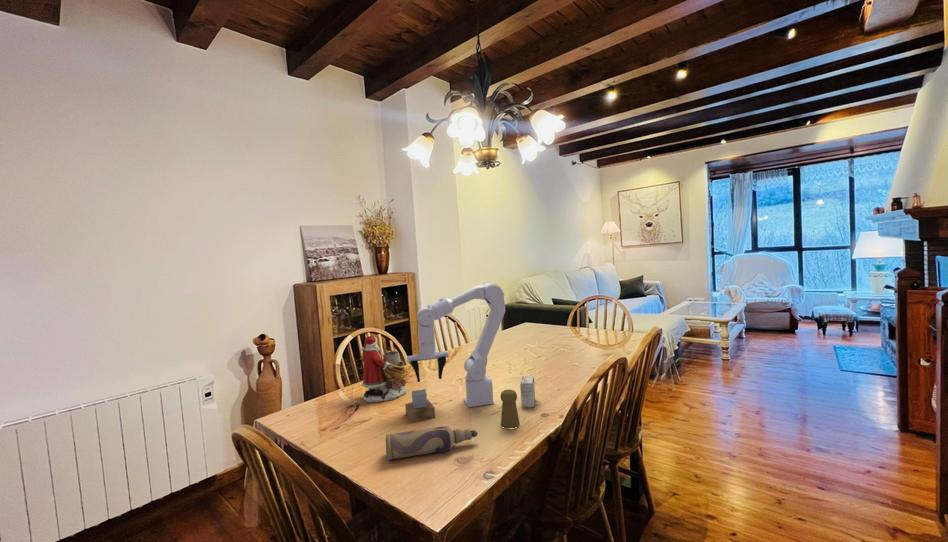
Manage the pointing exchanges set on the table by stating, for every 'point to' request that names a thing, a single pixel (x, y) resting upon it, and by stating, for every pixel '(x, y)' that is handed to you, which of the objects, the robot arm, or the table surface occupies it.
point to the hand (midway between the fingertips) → (429, 379)
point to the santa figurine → (381, 373)
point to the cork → (509, 409)
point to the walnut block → (420, 412)
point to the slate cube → (419, 398)
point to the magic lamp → (405, 374)
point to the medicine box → (527, 391)
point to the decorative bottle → (424, 441)
